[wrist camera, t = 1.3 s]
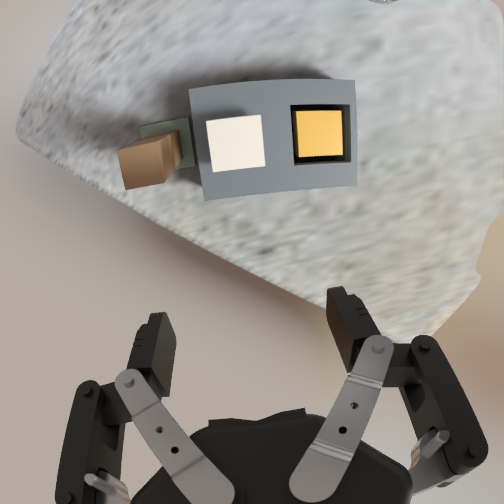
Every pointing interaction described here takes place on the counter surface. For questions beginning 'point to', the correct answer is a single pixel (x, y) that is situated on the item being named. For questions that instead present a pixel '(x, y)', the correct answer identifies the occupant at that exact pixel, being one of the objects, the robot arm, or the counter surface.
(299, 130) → the plunger
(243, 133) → the on button
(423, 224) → the counter surface
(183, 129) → the rubber mat
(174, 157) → the tall wooden block
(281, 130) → the switch panel
